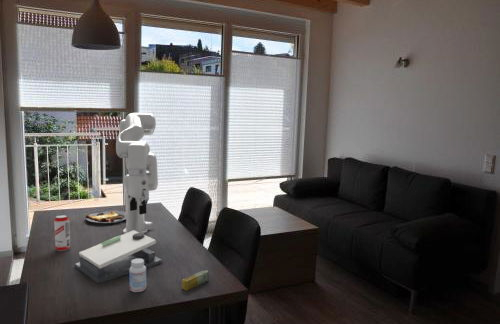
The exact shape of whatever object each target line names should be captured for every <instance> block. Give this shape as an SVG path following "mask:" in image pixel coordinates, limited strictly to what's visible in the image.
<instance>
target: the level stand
mask: <svg viewBox="0 0 500 324" xmlns="http://www.w3.org/2000/svg"><path fill="white" fill-rule="evenodd" d="M155 253H156V252H155V251H153V250H151V249H149V248H148V247H147V248H145V249H142V250H140V251H138V252H136V253H133V254H131V255H129V256H127V257H125V258H122V259H120V260H118V261H116V262H114V263H111V264H109V265H107V266H105V267H103V268H98V267H96V266H95V265H93V264H92V263H90V262H89V261H87V260H86V259H84V258H82V257H81V256H80V257H79V262H76V263H74V268H76V269H77V270H78V271H80V272H82V273H83V274H84V275H86V276H87V277H89V278H90V279H91V280H93V281H94V282H96V283H97V284H101V283H103V282H107V281H110V280H113V279H116V278H119V277H123V276H125V275H129V269H130V267H131V266H132V265H131V261H132V260H133V259H138V258H140V259H143V260H144V266H145V267H146V269H148V268H151V267H153V266H156V265H160V264H162V263H163V259H161V258H160V257H157V256H156V254H155ZM150 266H151V267H150Z"/></svg>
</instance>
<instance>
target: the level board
mask: <svg viewBox="0 0 500 324" xmlns="http://www.w3.org/2000/svg"><path fill="white" fill-rule="evenodd" d="M155 244H157V240H156V239H154V238H153V237H150V236H148V235H146V234H145V233H139V232H137V231H135V230H133V231H130V232H128V233H125V234H124V233H123V234H120V235H117V236H114V237H112V238H110V239H107V240H105V241H102V242H101V243H97V244H96V245H94V246H90V247H89V248H86V249H84V250H81V251H79V252H78V255H79V256H80V257H82V258H84V259H86V260H87V261H89V262H90V263H92V264H93V265H95V266H96V267H98V268H103V267H105V266H107V265H109V264H111V263H114V262H116V261H118V260H120V259H122V258H125V257H127V256H129V255H131V254H133V253H136V252H138V251H140V250H142V249H145V248H147V249H148V248H149V247H151V246H153V245H155Z"/></svg>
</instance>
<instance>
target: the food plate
mask: <svg viewBox="0 0 500 324" xmlns="http://www.w3.org/2000/svg"><path fill="white" fill-rule="evenodd" d="M85 220H86V221H87V222H90V223H95V224H117V223H120V222H123V221H124V220H125V221H126V211H124V210H123V211H121V210H104V211H103V210H102V211H97V212H94V213H91V214H87V215H86V216H85Z"/></svg>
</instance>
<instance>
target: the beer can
mask: <svg viewBox="0 0 500 324" xmlns="http://www.w3.org/2000/svg"><path fill="white" fill-rule="evenodd" d="M53 221H54V224H53V225H54V242H55V246H54V247H55V250H56V251H58V252H65V251H68V250H69V249H70V248H71V232H70V231H71V230H70V229H71V228H70V218H69V216H68V214H59V215H56V216H55V218H54V220H53Z"/></svg>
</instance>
